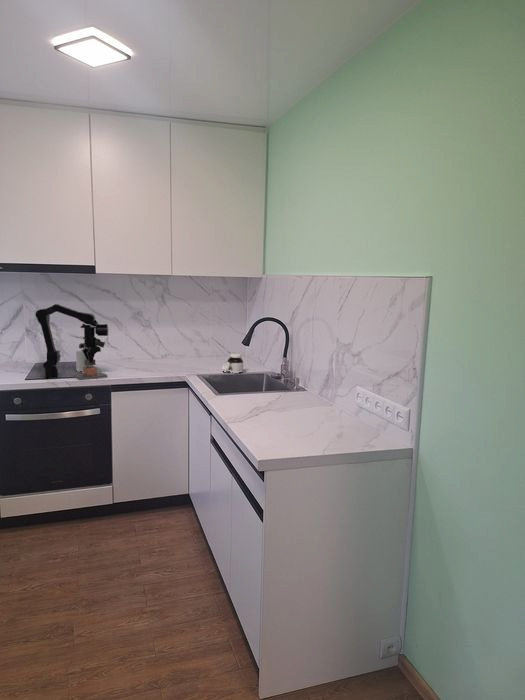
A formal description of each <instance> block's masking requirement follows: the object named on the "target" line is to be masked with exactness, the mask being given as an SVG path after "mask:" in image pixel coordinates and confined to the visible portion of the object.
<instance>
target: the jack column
mask: <svg viewBox="0 0 525 700" xmlns="http://www.w3.org/2000/svg"><path fill="white" fill-rule="evenodd" d="M85 365H86V366H87V367H88V368H91V367H93V366H96V359H94V358H93V362H92V363H90V361H89V359H86V360H85Z"/></svg>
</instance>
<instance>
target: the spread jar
mask: <svg viewBox="0 0 525 700" xmlns="http://www.w3.org/2000/svg"><path fill="white" fill-rule="evenodd" d="M229 356H230V357H229V358H228V359H227V362H224V363H223V364H222V367H221V370H222V369H225V371H227V372H229V371H228V370H231V371H241V370H243V371H244V360H243V358H242V355H241V354H240V353H231V354H229Z"/></svg>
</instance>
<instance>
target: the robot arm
mask: <svg viewBox="0 0 525 700" xmlns="http://www.w3.org/2000/svg"><path fill="white" fill-rule="evenodd" d="M55 313H61V314H63V315H65V316H67V317H68V316H69V317H71V318H74V319H76V320H78V321H80V322H82V325H81V326H80V328H81V329H83V337H82V339H83V341H84V342H83V343H80V344H79V345H78V349H80V350H82V351H83V353H84V355H85V357H86V359H89V361H90V363H92V362H93V359H94V357H95V355H96V353H99V352H100V353H101V352H102V349H101V348H104V347H105V344H106V342H103V341H102V340H101V339H99V338H97V337H96V335H97V336H99V337H100V336H101V337H108V336H109V327H108V326H109V325H108V323H105V324H103V323H102V324H100V323H99V322H98V321H97V320H96V317H95V315H94V314H93V313H89V312H84V311H78V310H75V309H72V308H70V307H66V306H64V305H60V304H59V303H56V304H53V305H52V306H49V307H47V308H41V309H38V310H36V311H35V317H36V320H37V321H38V323H39V324H40V326H41V330H42V335H43V338H44V343H45V346H46V361H45V362H44V363H43V364H42V366H43V375H42V377H43V378H45V379H53V378H55V377H56V378H59V376H58V375H59V373H58V370H59V369H58V367H57V365H58V363H59V362H60V361H61V358H62V355H61V353H60V352H61V351H60V350H59V349H56V347H55V342H54V337H53V334H52V330H51V326H50V319H51V318H50V315H52V314H55ZM95 334H96V335H95Z"/></svg>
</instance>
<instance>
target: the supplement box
mask: <svg viewBox="0 0 525 700" xmlns="http://www.w3.org/2000/svg"><path fill="white" fill-rule="evenodd" d="M75 357H76V359H75V360H76V361H75V362H76V363H75V364H76V369H75V370H77V371H76V372H80V371H82V372H81V373H83V367H86V365H85V360H86V357H85V355H84V353H83V351H82V349H80V350H77V351H76V352H75Z"/></svg>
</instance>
